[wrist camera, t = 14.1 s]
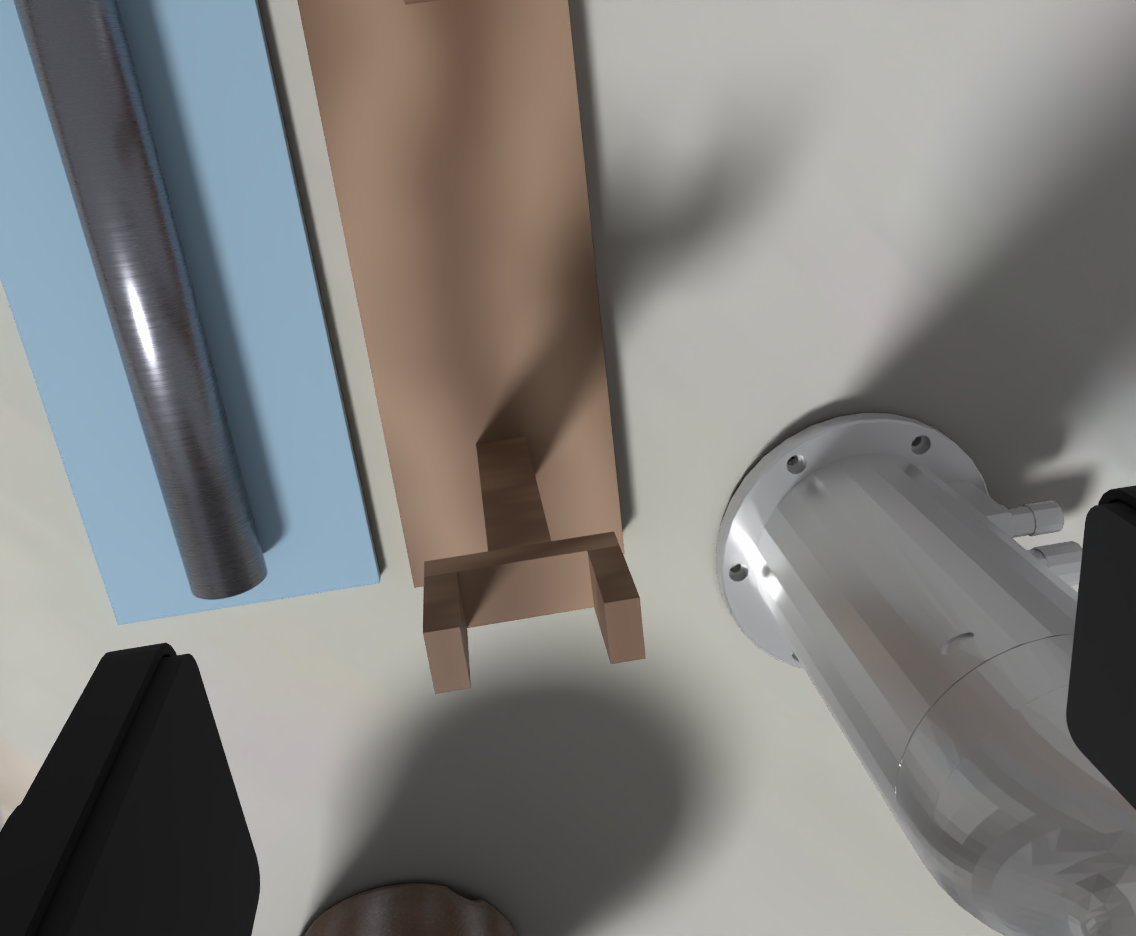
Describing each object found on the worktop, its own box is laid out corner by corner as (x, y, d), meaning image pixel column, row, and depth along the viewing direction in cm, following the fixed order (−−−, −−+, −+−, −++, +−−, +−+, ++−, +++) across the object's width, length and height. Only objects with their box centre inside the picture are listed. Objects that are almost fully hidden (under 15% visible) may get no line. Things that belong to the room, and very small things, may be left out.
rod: (-27, -233, 31) (-86, -261, 28) (68, -246, 30) (18, -275, 28) (205, 565, 41) (179, 603, 39) (276, 558, 41) (255, 595, 39)
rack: (540, -212, 33) (619, -411, 19) (618, 538, 44) (705, 761, 30) (266, -184, 32) (139, -367, 18) (415, 570, 43) (406, 814, 29)
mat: (187, -331, 31) (182, -338, 30) (380, 576, 43) (379, 583, 43) (-185, -296, 30) (-197, -302, 29) (122, 617, 42) (118, 624, 42)
